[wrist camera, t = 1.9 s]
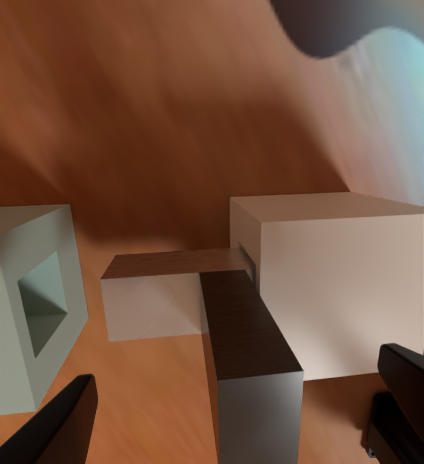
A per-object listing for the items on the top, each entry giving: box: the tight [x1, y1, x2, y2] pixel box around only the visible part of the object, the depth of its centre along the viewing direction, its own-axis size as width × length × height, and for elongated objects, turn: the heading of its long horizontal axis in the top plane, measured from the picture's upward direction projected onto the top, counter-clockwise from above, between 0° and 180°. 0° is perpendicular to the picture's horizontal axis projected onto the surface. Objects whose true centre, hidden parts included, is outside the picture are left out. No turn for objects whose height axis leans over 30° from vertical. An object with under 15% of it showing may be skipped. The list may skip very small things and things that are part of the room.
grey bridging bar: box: [100, 247, 304, 464], centre depth 11 cm, size 15×3×9 cm, turn 91°
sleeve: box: [230, 192, 424, 381], centre depth 15 cm, size 8×8×7 cm
